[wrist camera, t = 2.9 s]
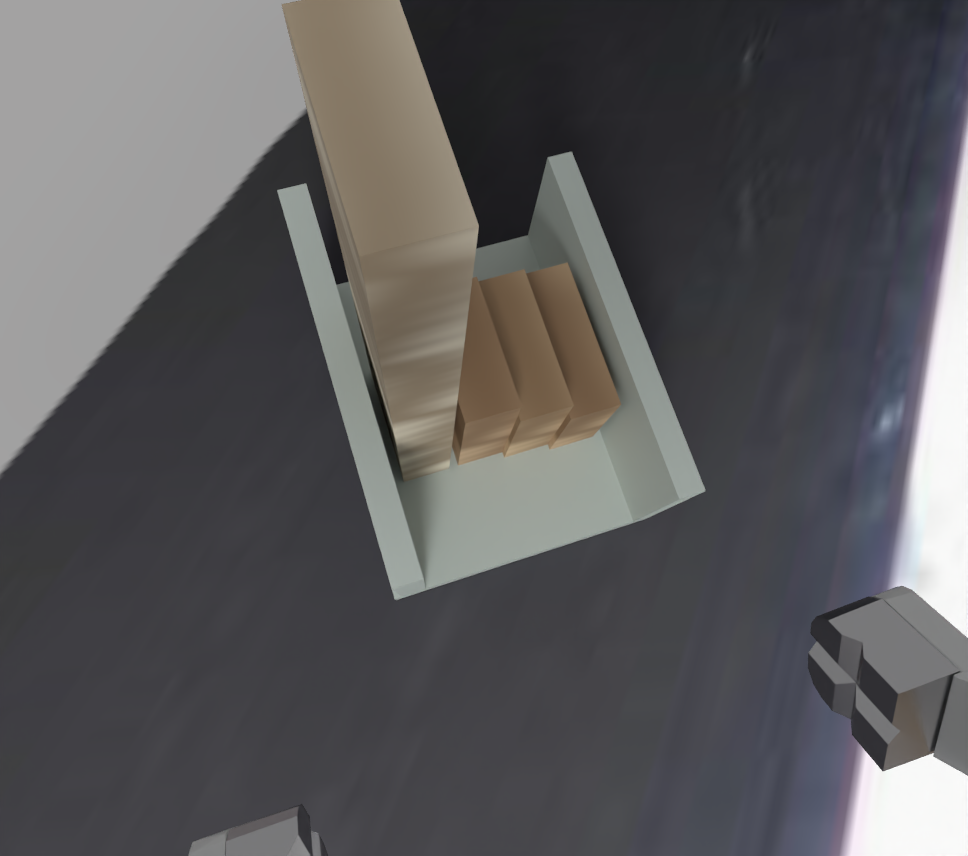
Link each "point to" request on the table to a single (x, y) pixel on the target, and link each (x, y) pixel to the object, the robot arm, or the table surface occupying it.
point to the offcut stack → (529, 367)
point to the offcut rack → (494, 479)
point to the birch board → (392, 212)
